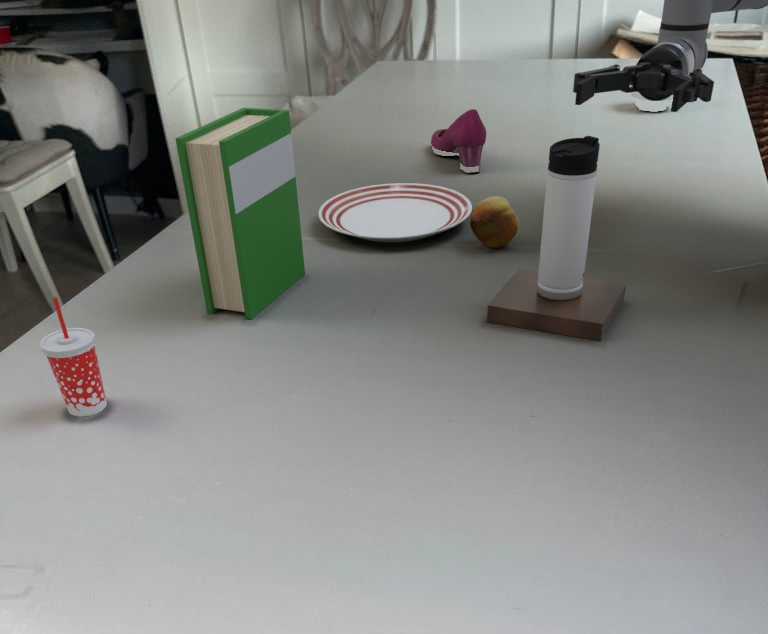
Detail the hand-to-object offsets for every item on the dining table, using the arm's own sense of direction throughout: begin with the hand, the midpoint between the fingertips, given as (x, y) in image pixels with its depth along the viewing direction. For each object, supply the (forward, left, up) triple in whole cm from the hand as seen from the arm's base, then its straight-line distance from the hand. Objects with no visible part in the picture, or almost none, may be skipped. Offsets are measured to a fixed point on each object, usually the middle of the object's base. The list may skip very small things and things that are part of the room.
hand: (625, 97), depth 113 cm
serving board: (+2, +19, -24) cm, 31 cm away
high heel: (+44, -49, -24) cm, 70 cm away
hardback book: (+46, +29, -24) cm, 60 cm away
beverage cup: (+47, +66, -24) cm, 85 cm away
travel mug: (+2, +18, -22) cm, 28 cm away
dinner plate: (+39, -6, -24) cm, 46 cm away
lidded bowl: (+13, -108, -24) cm, 111 cm away
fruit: (+19, -2, -24) cm, 31 cm away
